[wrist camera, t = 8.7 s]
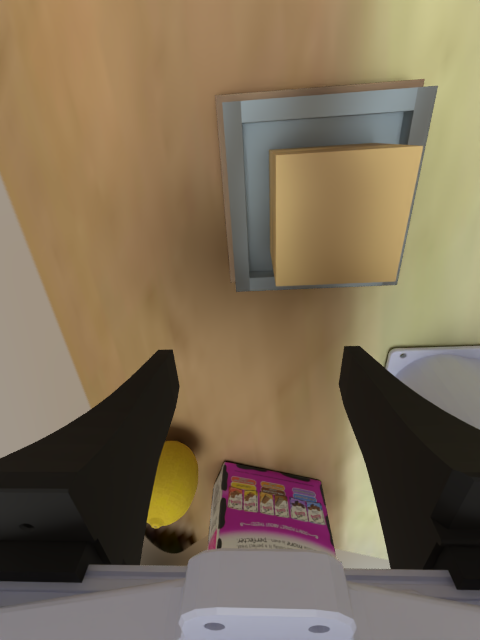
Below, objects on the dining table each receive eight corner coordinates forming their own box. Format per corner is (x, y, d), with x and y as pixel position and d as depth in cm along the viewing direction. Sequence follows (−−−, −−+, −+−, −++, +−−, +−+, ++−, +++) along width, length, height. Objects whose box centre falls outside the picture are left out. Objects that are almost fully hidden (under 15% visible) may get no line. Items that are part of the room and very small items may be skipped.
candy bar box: (212, 485, 35) (186, 719, 21) (223, 458, 33) (202, 703, 19) (305, 504, 37) (339, 736, 23) (323, 479, 34) (374, 722, 20)
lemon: (137, 436, 32) (105, 520, 25) (179, 415, 30) (157, 499, 23) (173, 465, 34) (153, 550, 27) (214, 447, 32) (204, 533, 25)
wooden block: (374, 142, 15) (423, 146, 11) (359, 245, 18) (395, 281, 13) (269, 149, 15) (275, 155, 11) (270, 249, 18) (276, 286, 14)
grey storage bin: (406, 84, 17) (453, 69, 13) (376, 264, 22) (404, 292, 18) (218, 99, 17) (209, 88, 13) (232, 271, 22) (228, 299, 18)
